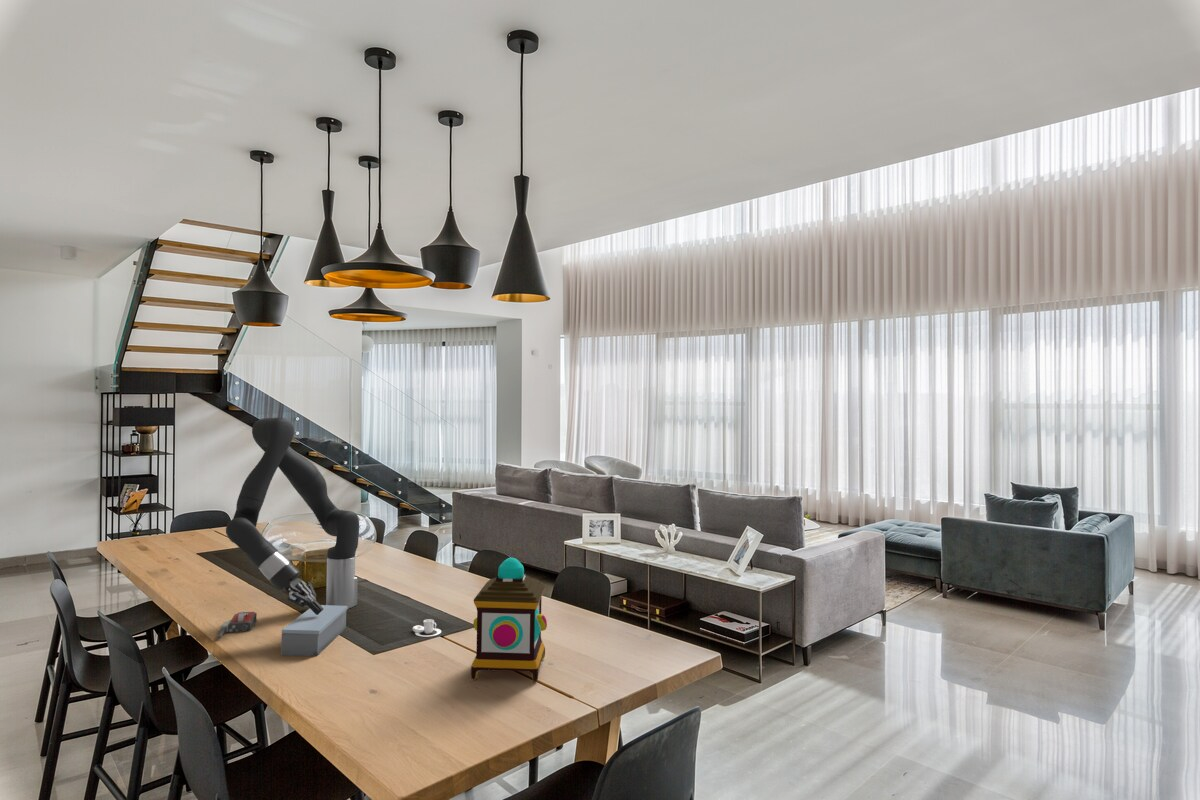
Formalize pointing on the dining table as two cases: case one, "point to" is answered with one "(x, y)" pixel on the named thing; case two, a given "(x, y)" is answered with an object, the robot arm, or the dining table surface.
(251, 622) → the walkie-talkie
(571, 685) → the dining table surface
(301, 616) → the duct lid
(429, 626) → the teacup and saucer
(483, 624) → the decorative lantern
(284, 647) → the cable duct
